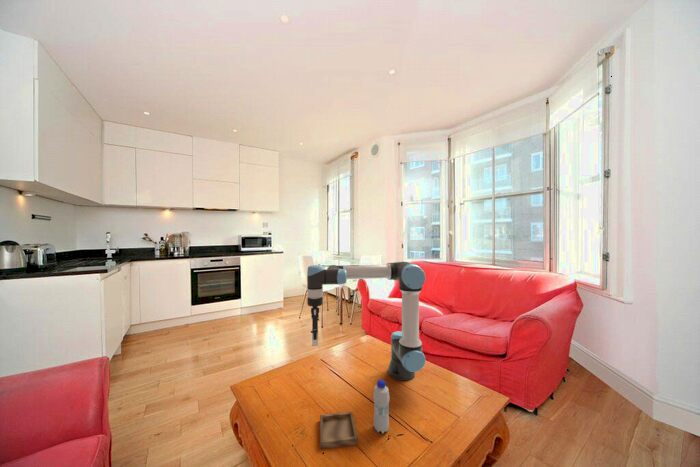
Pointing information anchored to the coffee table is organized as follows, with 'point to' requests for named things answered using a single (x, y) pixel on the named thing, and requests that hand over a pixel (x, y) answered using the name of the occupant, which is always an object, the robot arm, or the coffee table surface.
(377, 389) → the bottle
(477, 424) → the coffee table surface
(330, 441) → the tray
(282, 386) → the coffee table surface
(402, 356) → the robot arm
